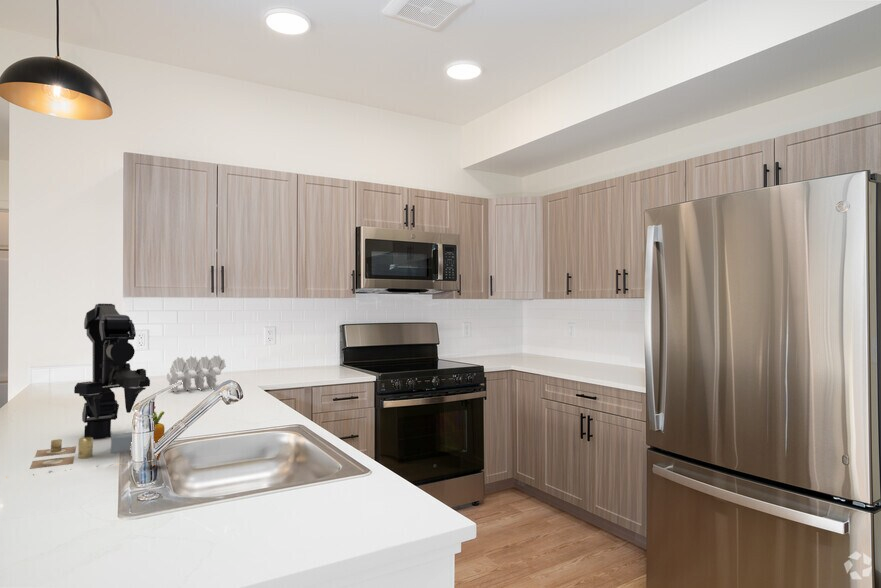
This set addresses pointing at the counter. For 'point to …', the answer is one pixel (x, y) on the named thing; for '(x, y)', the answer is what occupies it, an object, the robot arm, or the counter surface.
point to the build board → (52, 462)
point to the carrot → (158, 429)
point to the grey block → (121, 442)
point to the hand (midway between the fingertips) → (113, 415)
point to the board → (43, 452)
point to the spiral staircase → (195, 371)
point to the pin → (85, 447)
